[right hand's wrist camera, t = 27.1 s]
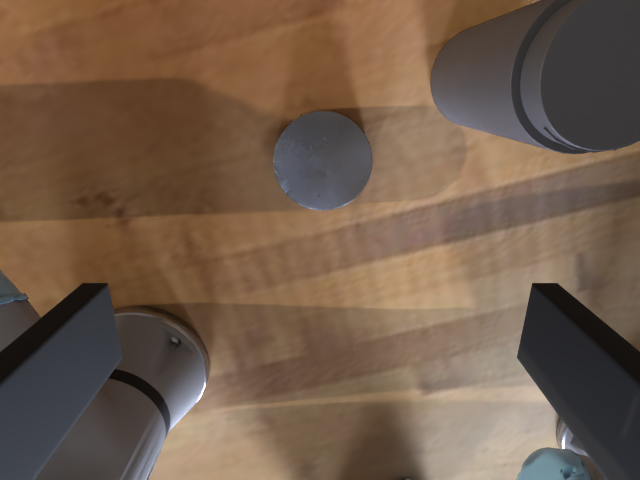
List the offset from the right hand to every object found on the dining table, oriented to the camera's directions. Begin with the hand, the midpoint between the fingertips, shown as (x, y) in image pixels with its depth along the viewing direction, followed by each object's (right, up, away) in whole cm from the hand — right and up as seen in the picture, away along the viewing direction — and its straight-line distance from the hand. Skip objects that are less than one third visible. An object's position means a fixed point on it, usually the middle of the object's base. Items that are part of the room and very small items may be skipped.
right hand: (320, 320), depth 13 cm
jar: (+15, +18, +25) cm, 34 cm away
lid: (0, +10, +26) cm, 28 cm away
